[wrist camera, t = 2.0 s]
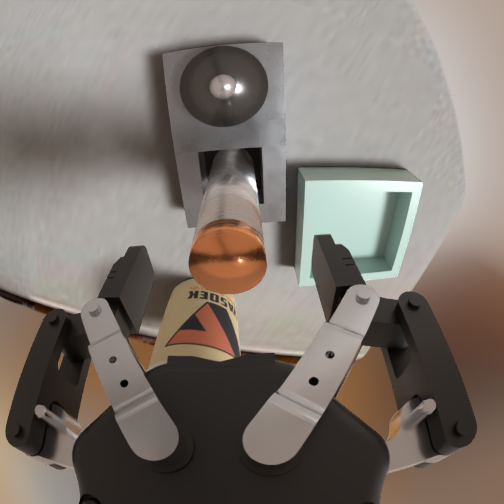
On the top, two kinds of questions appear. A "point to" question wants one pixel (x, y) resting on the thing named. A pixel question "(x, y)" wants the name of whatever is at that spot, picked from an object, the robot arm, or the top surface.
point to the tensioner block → (228, 117)
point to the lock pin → (229, 228)
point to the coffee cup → (197, 325)
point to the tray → (356, 216)
